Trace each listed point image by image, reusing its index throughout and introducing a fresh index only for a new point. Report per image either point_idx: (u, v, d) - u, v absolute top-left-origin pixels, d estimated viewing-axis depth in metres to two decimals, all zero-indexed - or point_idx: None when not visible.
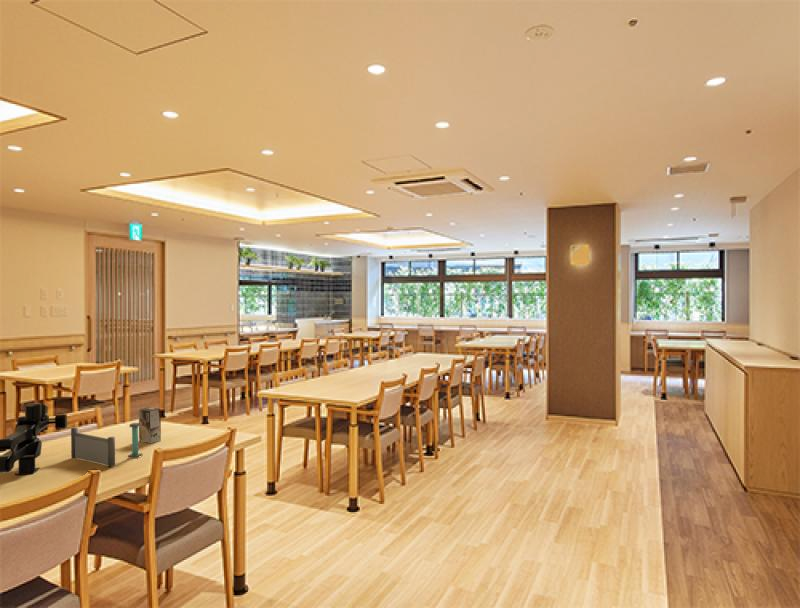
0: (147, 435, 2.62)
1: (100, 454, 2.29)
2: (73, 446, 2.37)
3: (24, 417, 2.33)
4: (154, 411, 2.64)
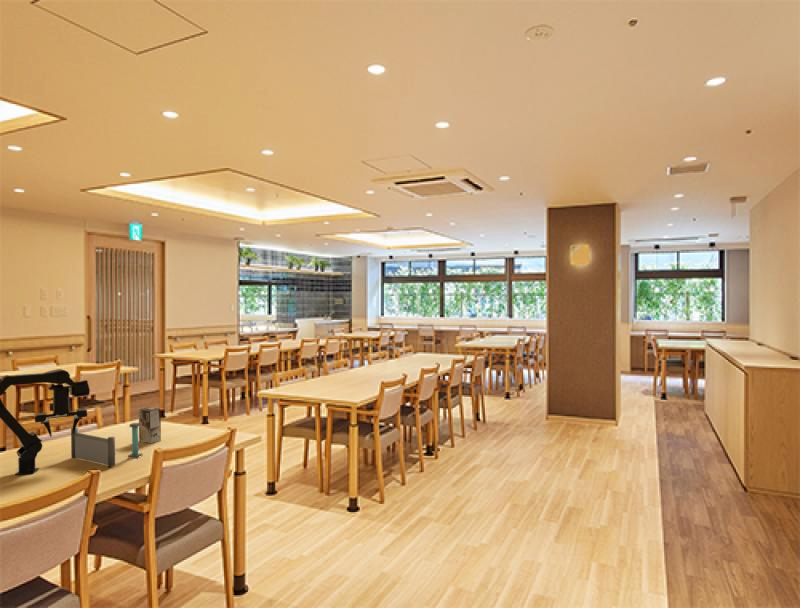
0: (147, 435, 2.62)
1: (100, 454, 2.29)
2: (73, 446, 2.37)
3: None
4: (154, 411, 2.64)
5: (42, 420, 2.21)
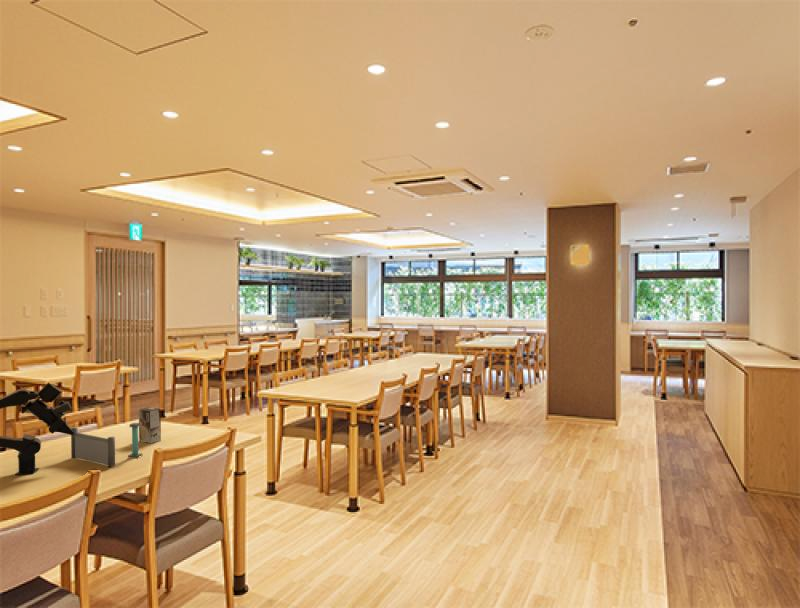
0: (147, 435, 2.62)
1: (100, 454, 2.29)
2: (73, 446, 2.37)
3: None
4: (154, 411, 2.64)
5: None
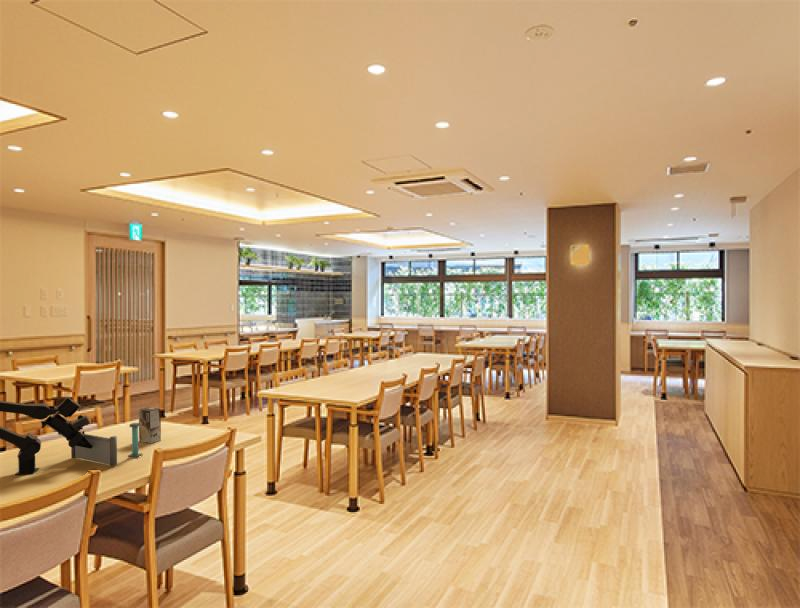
0: (147, 435, 2.62)
1: (101, 454, 2.29)
2: None
3: None
4: (154, 411, 2.64)
5: None
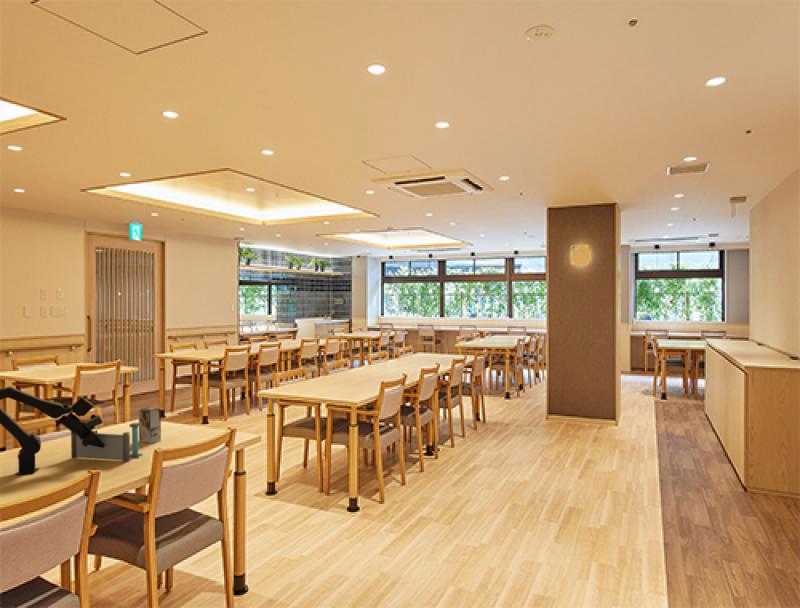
0: (147, 435, 2.62)
1: (112, 450, 2.34)
2: (74, 446, 2.37)
3: None
4: (154, 411, 2.64)
5: None
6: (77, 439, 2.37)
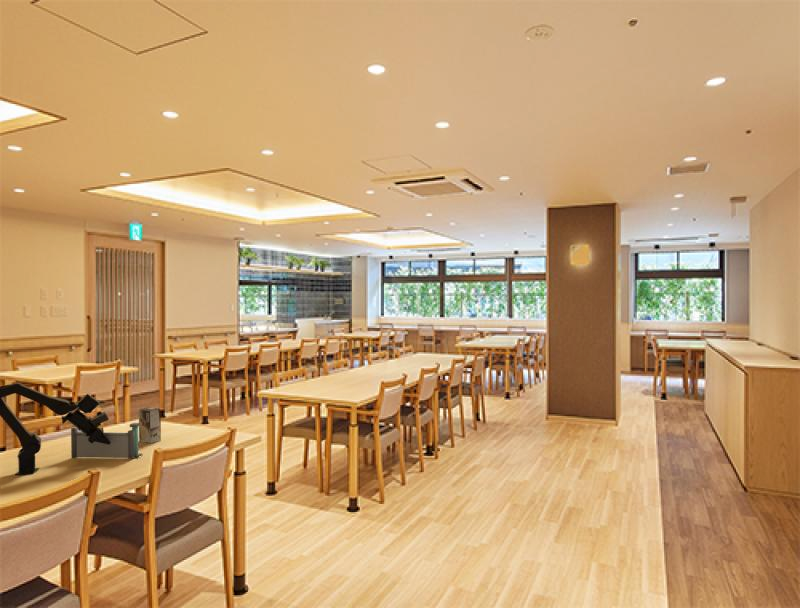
0: (147, 435, 2.62)
1: (116, 449, 2.37)
2: (74, 446, 2.37)
3: None
4: (154, 411, 2.64)
5: None
6: (78, 439, 2.37)
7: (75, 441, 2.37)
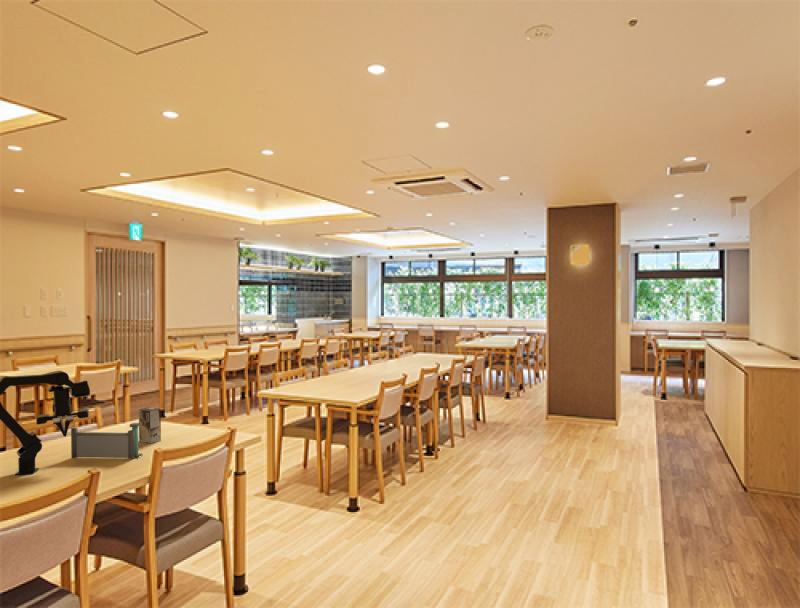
0: (147, 435, 2.62)
1: (116, 449, 2.37)
2: (74, 446, 2.37)
3: None
4: (154, 411, 2.64)
5: (43, 422, 2.22)
6: (78, 439, 2.37)
7: (75, 441, 2.37)
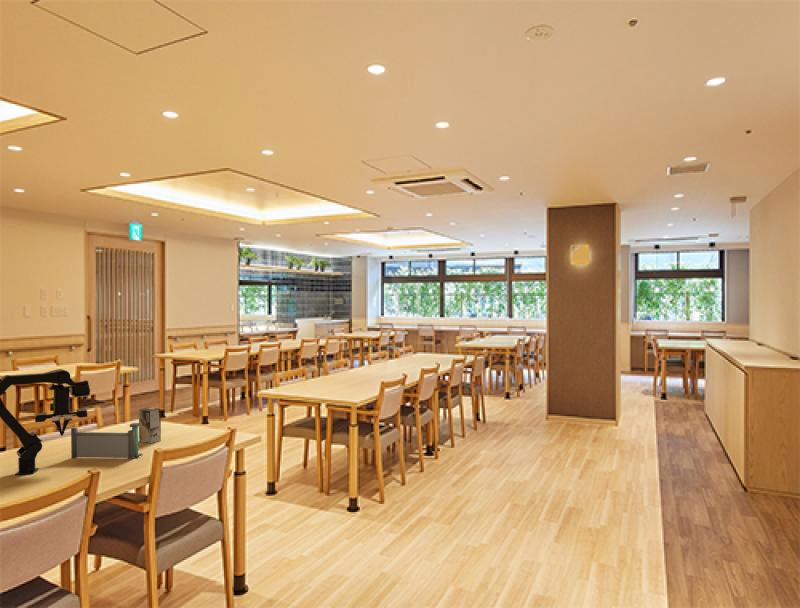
0: (147, 435, 2.62)
1: (116, 449, 2.37)
2: (74, 446, 2.37)
3: None
4: (154, 411, 2.64)
5: (42, 420, 2.21)
6: (78, 439, 2.37)
7: (75, 441, 2.37)
